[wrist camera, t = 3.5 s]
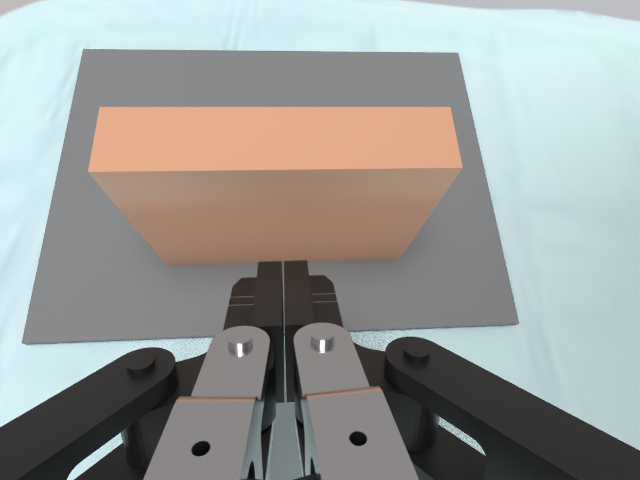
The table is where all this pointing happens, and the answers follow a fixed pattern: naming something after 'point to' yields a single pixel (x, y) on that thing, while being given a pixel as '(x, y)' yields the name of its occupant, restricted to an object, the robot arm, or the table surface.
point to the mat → (218, 279)
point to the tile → (275, 179)
